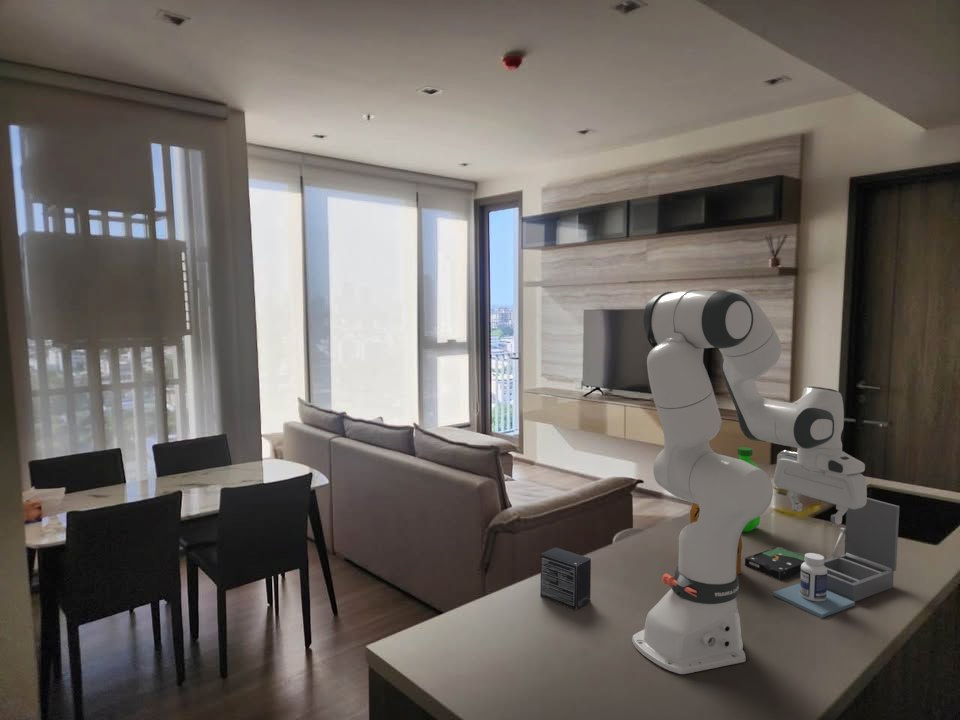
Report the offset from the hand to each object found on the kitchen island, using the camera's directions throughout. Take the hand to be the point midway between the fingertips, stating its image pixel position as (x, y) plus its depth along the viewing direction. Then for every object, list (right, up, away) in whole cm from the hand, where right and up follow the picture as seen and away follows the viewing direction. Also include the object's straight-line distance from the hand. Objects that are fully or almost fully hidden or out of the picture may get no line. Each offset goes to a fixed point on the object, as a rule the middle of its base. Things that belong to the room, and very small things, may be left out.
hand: (815, 516), depth 139 cm
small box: (-57, -20, +4) cm, 61 cm away
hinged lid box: (+13, -19, +10) cm, 25 cm away
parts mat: (0, -20, +2) cm, 20 cm away
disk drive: (+2, -19, +20) cm, 28 cm away
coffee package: (-16, -19, +19) cm, 31 cm away
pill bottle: (0, -19, +2) cm, 19 cm away
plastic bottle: (+4, -16, +47) cm, 50 cm away
